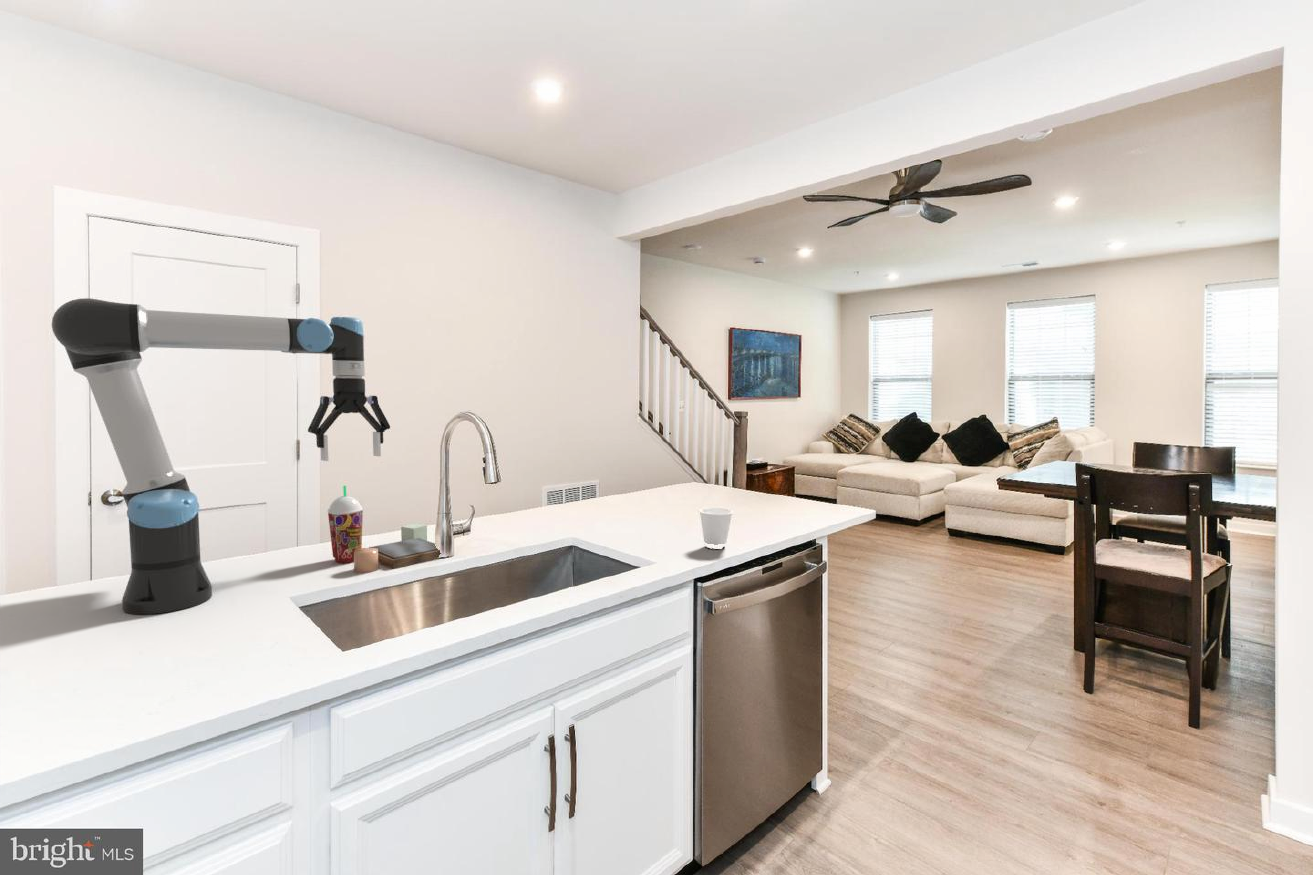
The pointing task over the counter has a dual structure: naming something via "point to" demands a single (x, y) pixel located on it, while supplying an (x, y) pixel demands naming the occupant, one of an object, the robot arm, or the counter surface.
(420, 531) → the sage box
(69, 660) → the counter surface
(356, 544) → the smoothie
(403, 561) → the podium
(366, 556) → the rounded peach cube
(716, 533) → the cup
